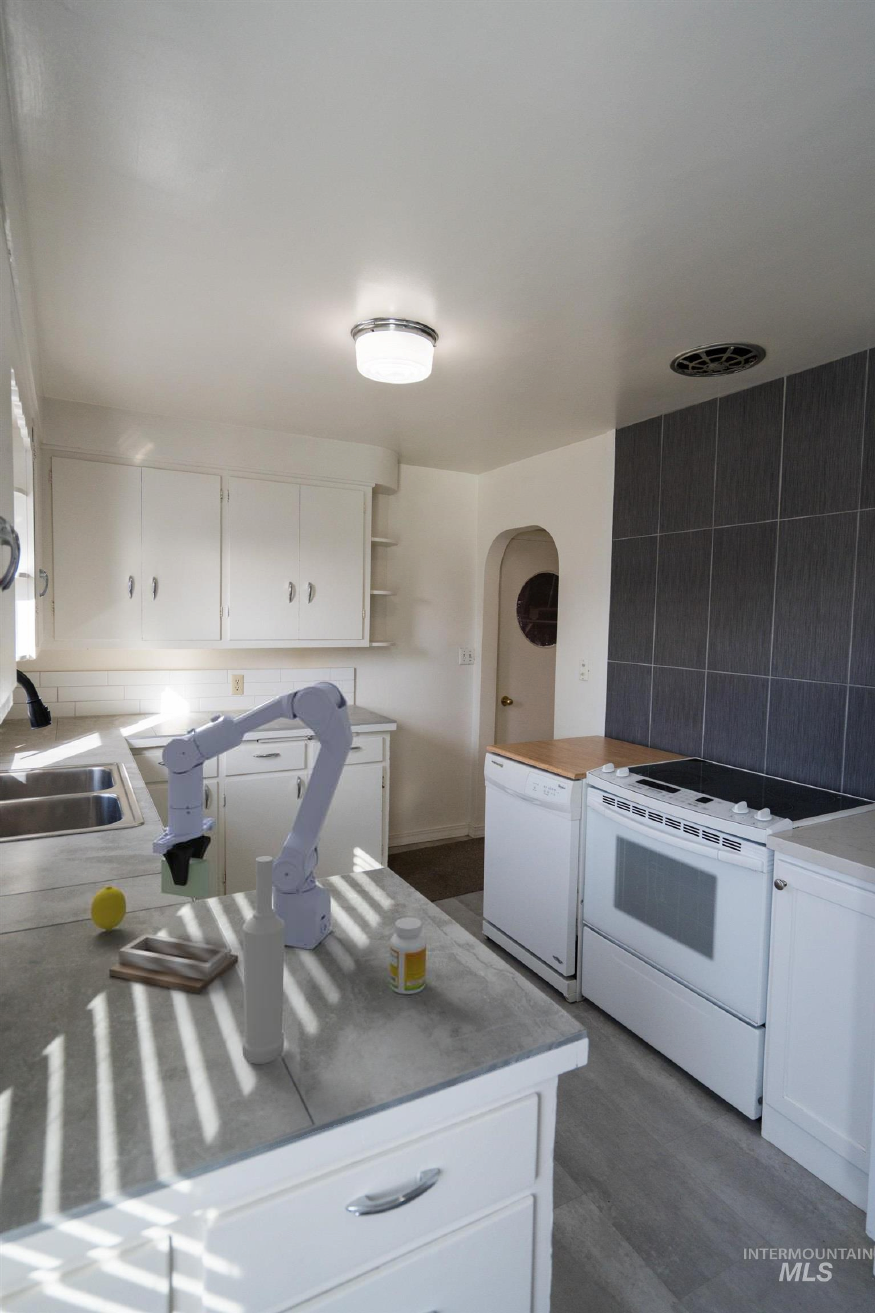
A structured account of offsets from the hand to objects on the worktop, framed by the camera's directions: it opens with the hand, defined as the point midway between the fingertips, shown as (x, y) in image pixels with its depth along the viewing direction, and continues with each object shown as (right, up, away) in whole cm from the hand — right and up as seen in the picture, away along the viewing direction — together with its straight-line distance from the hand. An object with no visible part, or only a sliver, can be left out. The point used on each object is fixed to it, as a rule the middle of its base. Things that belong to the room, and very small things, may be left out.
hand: (186, 881), depth 121 cm
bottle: (+22, -11, -33) cm, 41 cm away
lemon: (-13, -9, -1) cm, 16 cm away
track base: (+3, -9, -13) cm, 16 cm away
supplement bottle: (+39, -11, -17) cm, 44 cm away
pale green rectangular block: (0, -2, 0) cm, 2 cm away
